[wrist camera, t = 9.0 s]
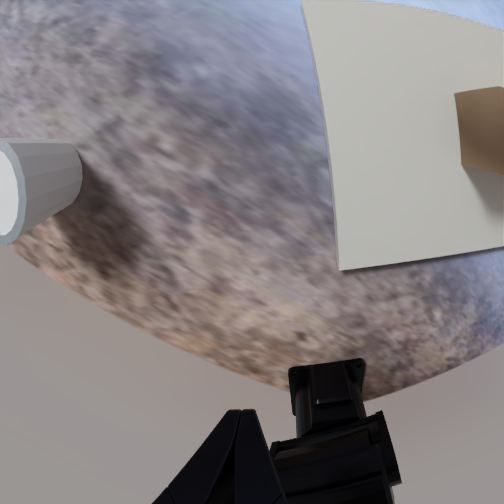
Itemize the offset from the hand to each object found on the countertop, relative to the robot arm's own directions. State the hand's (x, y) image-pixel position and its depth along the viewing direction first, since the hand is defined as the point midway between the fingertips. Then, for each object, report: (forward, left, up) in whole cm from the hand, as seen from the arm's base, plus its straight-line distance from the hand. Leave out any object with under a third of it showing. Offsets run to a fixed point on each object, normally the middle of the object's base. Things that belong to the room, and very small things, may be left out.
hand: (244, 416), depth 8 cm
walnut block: (+8, -15, -10) cm, 19 cm away
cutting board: (+8, -17, -13) cm, 23 cm away
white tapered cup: (+9, +15, -13) cm, 22 cm away
